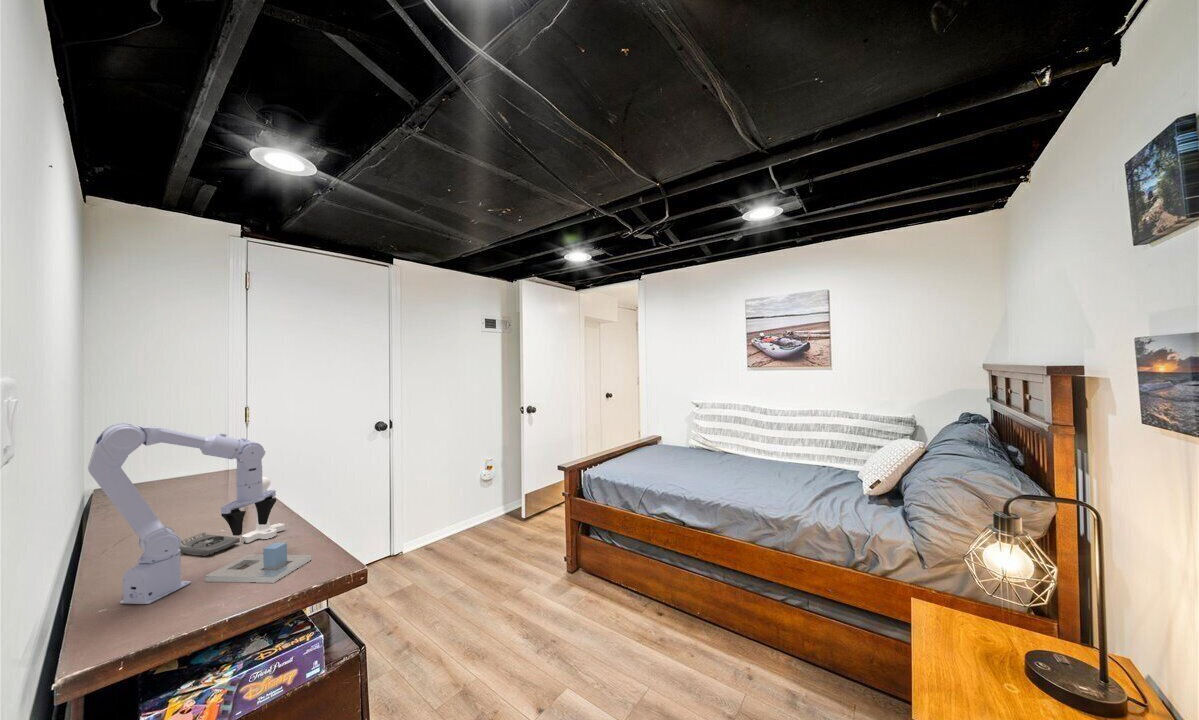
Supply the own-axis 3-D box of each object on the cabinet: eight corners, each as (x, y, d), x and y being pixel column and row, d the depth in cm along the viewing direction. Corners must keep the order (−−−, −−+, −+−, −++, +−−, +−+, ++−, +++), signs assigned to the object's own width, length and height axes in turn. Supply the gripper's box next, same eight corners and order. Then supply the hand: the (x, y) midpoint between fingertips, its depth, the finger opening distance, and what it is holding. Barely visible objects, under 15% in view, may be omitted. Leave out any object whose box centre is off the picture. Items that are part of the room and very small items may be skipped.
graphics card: (157, 548, 120) (204, 530, 132) (158, 560, 121) (205, 541, 132) (199, 553, 117) (243, 534, 128) (199, 565, 117) (244, 546, 129)
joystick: (277, 529, 140) (276, 472, 140) (290, 531, 137) (289, 474, 138) (239, 542, 130) (237, 481, 130) (252, 545, 127) (251, 483, 127)
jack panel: (273, 583, 104) (273, 577, 104) (204, 581, 106) (204, 575, 106) (310, 560, 116) (310, 555, 116) (248, 559, 118) (248, 554, 118)
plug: (275, 574, 109) (275, 548, 109) (263, 574, 109) (263, 548, 109) (287, 567, 112) (286, 542, 112) (275, 567, 113) (275, 542, 113)
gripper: (236, 490, 109) (237, 540, 109) (284, 476, 123) (285, 519, 123) (213, 490, 110) (214, 540, 109) (263, 475, 124) (264, 519, 124)
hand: (250, 529), depth 116 cm, fingers open, 7 cm apart
